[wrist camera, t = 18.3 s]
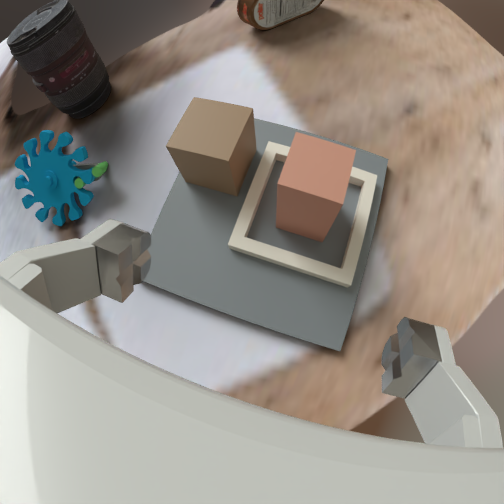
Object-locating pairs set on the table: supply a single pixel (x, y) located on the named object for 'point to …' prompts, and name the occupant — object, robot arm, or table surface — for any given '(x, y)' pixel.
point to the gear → (56, 177)
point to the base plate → (258, 228)
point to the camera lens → (61, 59)
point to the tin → (274, 11)
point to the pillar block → (312, 186)
